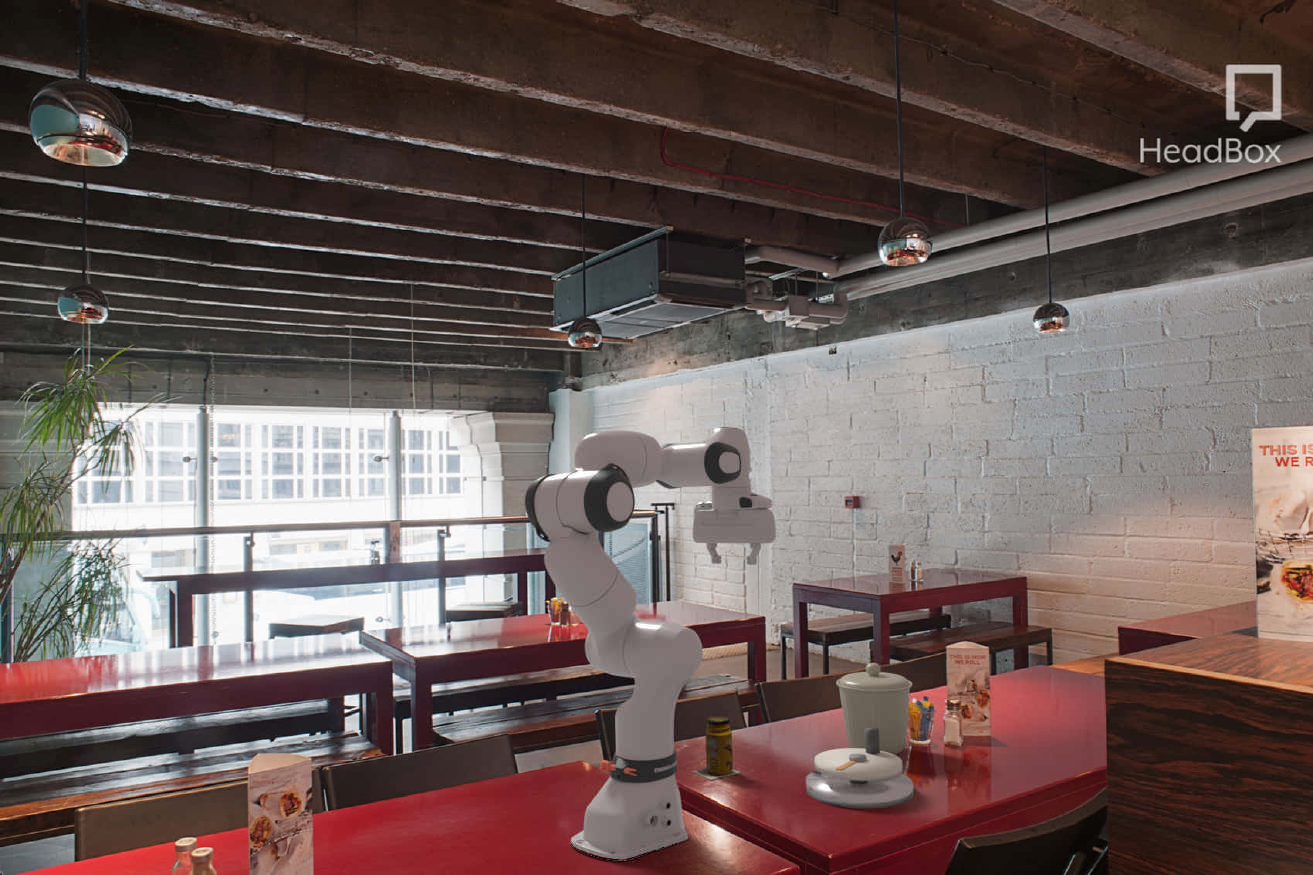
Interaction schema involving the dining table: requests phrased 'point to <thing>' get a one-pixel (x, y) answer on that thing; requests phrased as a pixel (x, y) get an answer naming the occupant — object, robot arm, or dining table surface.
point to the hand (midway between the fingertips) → (733, 564)
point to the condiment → (718, 749)
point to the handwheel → (860, 761)
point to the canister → (875, 707)
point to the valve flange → (860, 791)
